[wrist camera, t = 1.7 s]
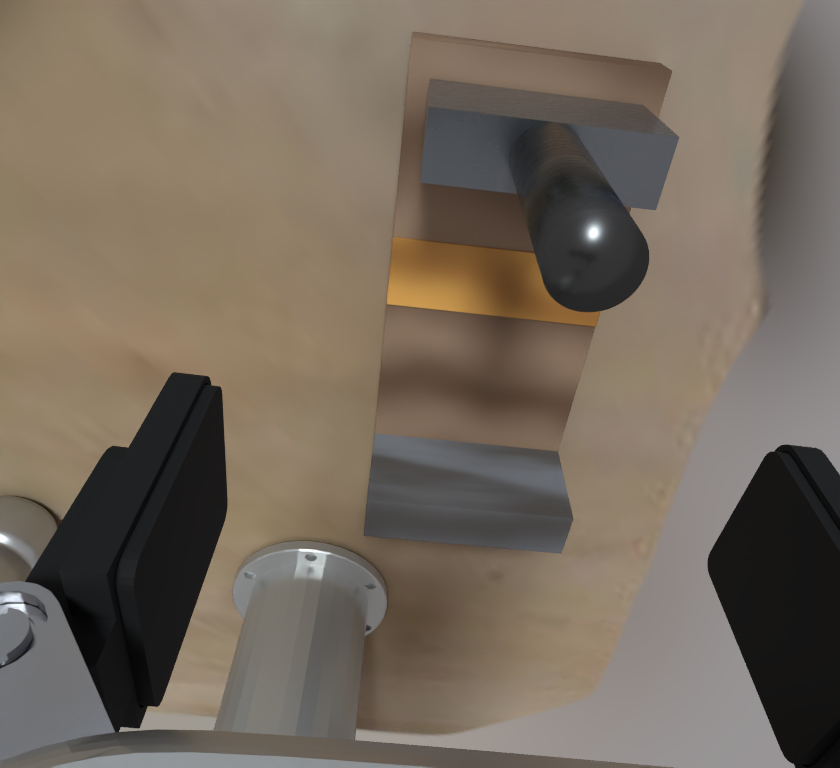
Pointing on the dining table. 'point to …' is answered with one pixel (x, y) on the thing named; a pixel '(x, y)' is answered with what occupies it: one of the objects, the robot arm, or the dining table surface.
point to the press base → (480, 326)
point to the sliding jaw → (557, 177)
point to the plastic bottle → (22, 536)
